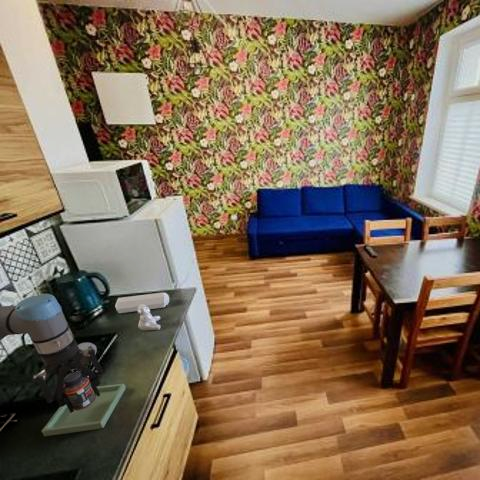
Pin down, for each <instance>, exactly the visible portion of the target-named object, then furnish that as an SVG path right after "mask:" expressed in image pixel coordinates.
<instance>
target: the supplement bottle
mask: <svg viewBox="0 0 480 480" xmlns="http://www.w3.org/2000/svg"><path fill="white" fill-rule="evenodd" d="M82 373H83V372H82V371H76V372H74V371H71V372H70V373H69V374H67V375H66V376H65V377H64V378H63V392H64V393H65V395H66V397H67V399H68V401H69V403H70V405H71V406H72V408H73V409H74V410H82V409H84V408H86V407H88V406H90V405H91V404H92V403H93V402H94V400H95V399H96V394H95V391H94V389H93V387H92V385H91V383H90V380H89V376H88V375H86V374H82Z"/></svg>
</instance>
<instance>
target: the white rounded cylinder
mask: <svg viewBox="0 0 480 480" xmlns="http://www.w3.org/2000/svg"><path fill="white" fill-rule="evenodd" d="M169 303H170V296H169V294H168V293H167V292H155V293H148V294H147V293H146V294H139V295H131V296H123V297H118V298H117V300H116V302H115V305H114V307H115V309H116V312H117V313H118V314H125V313H133V312H138V311H137V309H138V307H139V306H140V304H141V305H142V304H144V305H145V306H146V307H148V308H149V310H154V309H162V308H165V307H167V306H168V305H169ZM166 305H167V306H166Z"/></svg>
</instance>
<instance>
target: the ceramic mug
mask: <svg viewBox="0 0 480 480" xmlns="http://www.w3.org/2000/svg"><path fill="white" fill-rule="evenodd" d="M77 345H78V347H79V349H81V350H86V349H88V347H90V346H92V347H93V348H94V350H95V355H96V354H97V349H98V348H97V345H95V344H94V343H92V342H89V341H87V342H81V343H79V344H77ZM90 361H91V360H90V358H89V357H88V356H86V355H83V357H82V359H81V361H80V362H81V363H82V364H88V363H90ZM90 365H91V366H92V365H93V363H92V361H91V364H90ZM73 370H74V369H73ZM73 370H70V371H71V372H74V371H73ZM70 371H69V372H70Z"/></svg>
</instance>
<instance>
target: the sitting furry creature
mask: <svg viewBox="0 0 480 480" xmlns="http://www.w3.org/2000/svg"><path fill="white" fill-rule="evenodd" d="M136 312H137V313H138V314H139V315H140V316H139V321H138V324H137V327H138V329H140V330H141V331H144V332H145V331H147V332H148V331H159V330H160V329H161V328H162V327H161V324H158V323H157V322H158V321H160V320H161V316H160V315H154V316H153V315H152V313H151V309H149V308H148V307H146V306H145V305H144V304H142V305H141V304H140V306H139V307H138V309H137V311H136Z"/></svg>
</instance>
